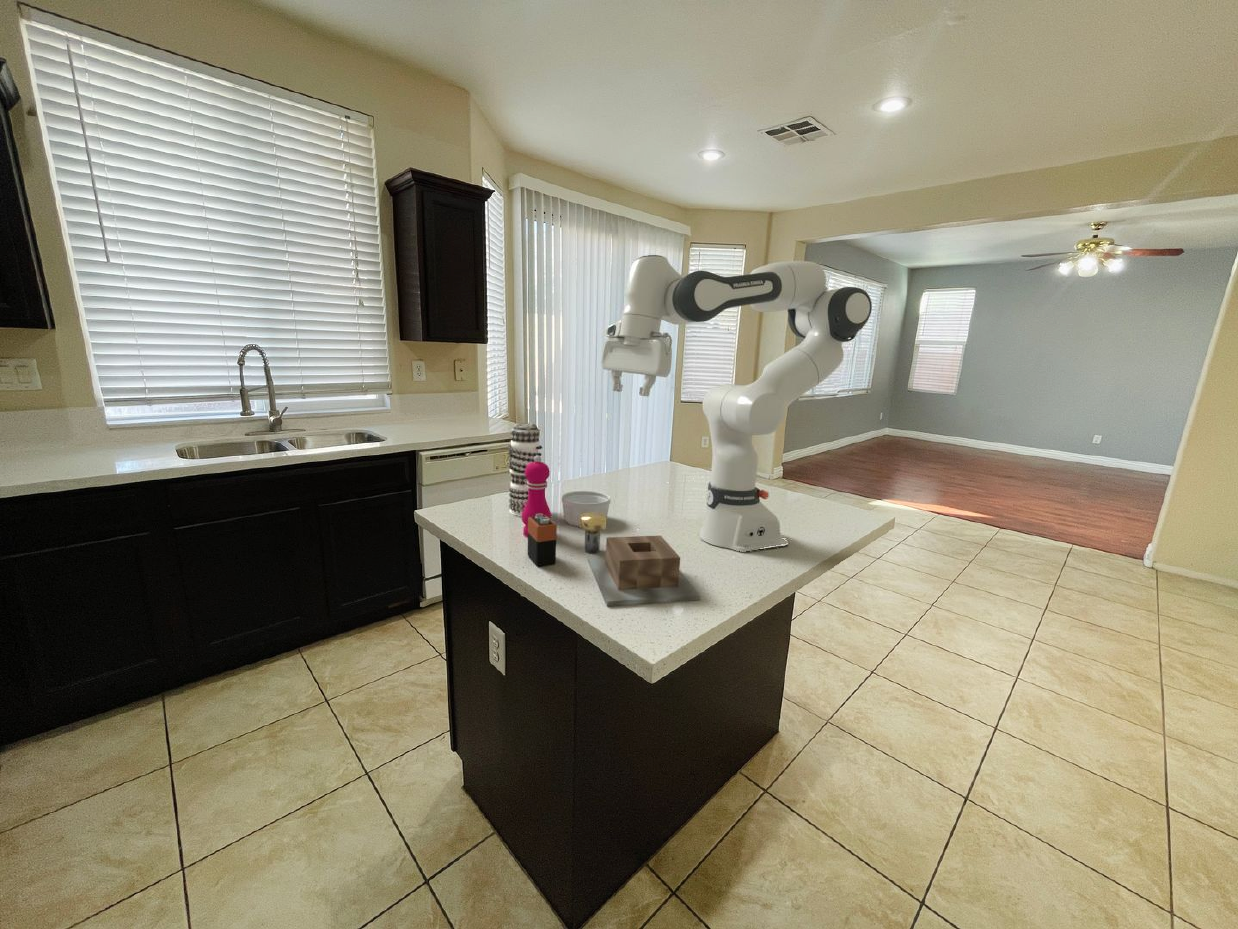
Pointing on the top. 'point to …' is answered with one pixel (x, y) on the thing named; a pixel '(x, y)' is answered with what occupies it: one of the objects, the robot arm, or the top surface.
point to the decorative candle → (521, 463)
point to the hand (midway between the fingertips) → (630, 393)
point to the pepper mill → (535, 491)
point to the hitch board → (639, 593)
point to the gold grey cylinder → (592, 530)
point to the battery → (542, 540)
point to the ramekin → (583, 505)
